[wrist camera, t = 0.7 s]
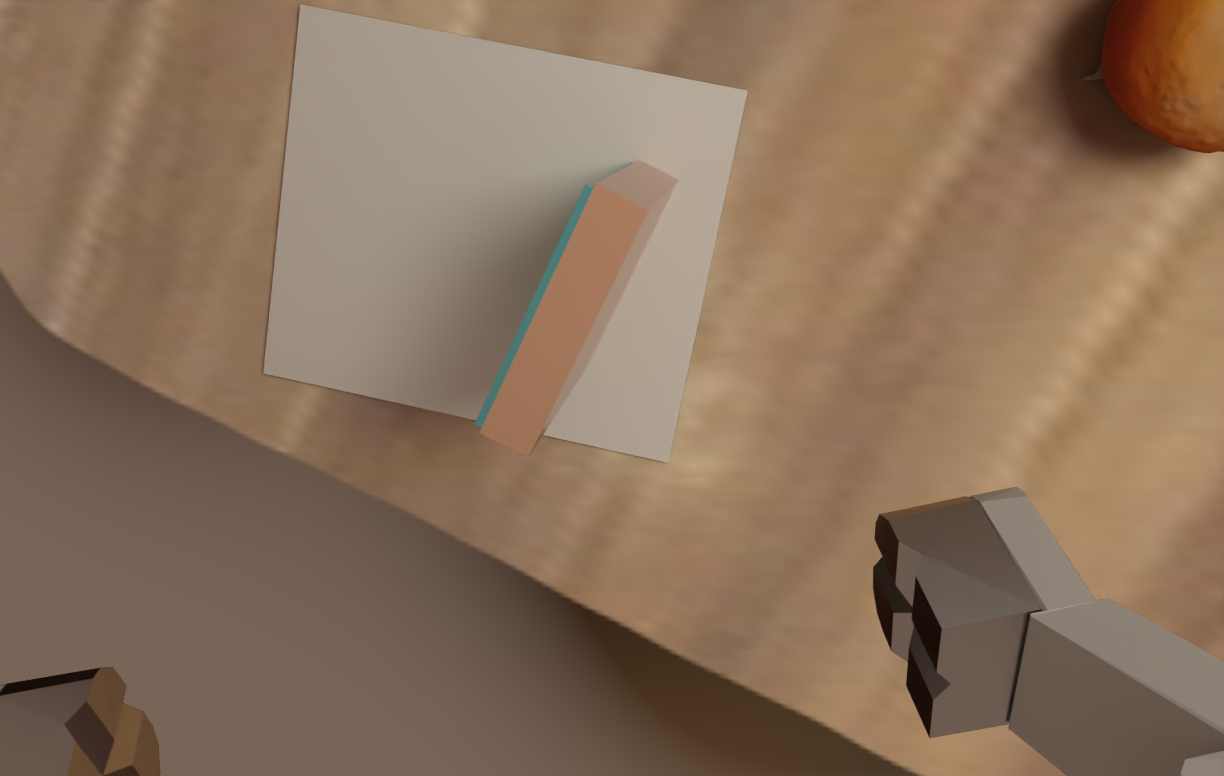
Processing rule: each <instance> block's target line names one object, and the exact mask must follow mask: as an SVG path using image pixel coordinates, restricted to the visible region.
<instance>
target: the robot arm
mask: <svg viewBox="0 0 1224 776" xmlns="http://www.w3.org/2000/svg"><path fill="white" fill-rule="evenodd" d="M875 541H876V543H877V545H878V548H879V550H880V552H881V554H882V556H883V557H882V558H881V559H880V560H879V561H878V562H877V564H876V565H875V566H874V567H873V591H874V597H875V603H876V609H877V614H878V617H879V620H880V624H881V627H882V630H883V633H884V635H885V637H886V640H887V642H888V645H889V647H890V649H891V651H892V652H893V653H895V654H896V655H898V656H899V657H901V658H902V659H904V660H906V661H907V662H908V667H907V680H906V686H907V689H908V691H909V693H910V695H911V698H912V700H913V702H914V704H915V707H916V709H917V711H918V713H919V716H920V718H921V720H922V722H923V725H924V727H925V729H926V731H927V734H928V736H929V738H933V737H939V736H945V735H950V734H956V733H961V732H967V731H973V730H978V729H984V728H990V727H995V726H1001V725H1007V724H1009V727H1008V728H1009V729H1010V730H1011V731H1012V732H1014V733H1015V734H1016V735H1017V736H1019V737H1020V738H1021V739H1022V740H1023V741H1025V742H1026V743H1027V744H1028V745H1030V746H1031V747H1032V748H1033V749H1035V750H1036V751H1037V752H1038V753H1040V754H1041V755H1042V756H1043V757H1045V758H1046V759H1047V760H1048V761H1050V762H1051V763H1052V764H1053V765H1054V766H1056V767H1057V768H1058V769H1059V770H1061V771H1062V772H1063V773H1064V774H1066V775H1067V776H1224V661H1222V660H1220V659H1218V658H1217V657H1215V656H1213V655H1211V654H1209V653H1208V652H1206V651H1204V650H1202V649H1200V648H1199V647H1197V646H1195V645H1193V644H1191V643H1190V642H1188V641H1186V640H1184V639H1182V638H1181V637H1179V636H1177V635H1175V634H1173V633H1172V632H1170V631H1168V630H1166V629H1164V628H1163V627H1161V626H1159V625H1157V624H1155V623H1154V622H1152V621H1150V620H1148V619H1146V618H1145V617H1143V616H1141V615H1139V614H1137V613H1136V612H1134V611H1132V610H1130V609H1128V608H1127V607H1125V606H1123V605H1121V604H1119V603H1118V602H1116V601H1114V600H1112V599H1110V598H1107V599H1101V600H1095V598H1094V597H1093V595H1092V594H1091V592H1090V591H1089V589H1088V588H1087V586H1086V585H1085V583H1084V582H1083V580H1082V578H1081V577H1080V575H1079V574H1078V572H1077V571H1076V569H1075V568H1074V566H1073V565H1072V563H1071V562H1070V560H1069V559H1068V557H1067V556H1066V554H1065V553H1064V551H1063V549H1062V548H1061V546H1060V545H1059V543H1058V542H1057V540H1056V539H1055V537H1054V536H1053V534H1052V533H1051V531H1050V530H1049V528H1048V527H1047V525H1046V523H1045V522H1044V520H1043V519H1042V517H1041V516H1040V514H1039V513H1038V511H1037V510H1036V508H1035V507H1034V505H1033V504H1032V502H1031V501H1030V499H1029V498H1028V496H1027V494H1026V493H1025V492H1024V491H1022V490H1021V489H1019V488H1018V487H1013V488H1008V489H1003V490H998V491H993V492H988V493H983V494H978V495H973V496H970V497H966V496H965V497H960V498H955V499H950V500H945V501H941V502H936V503H931V504H926V505H921V506H916V507H912V508H907V509H902V510H897V511H892V512H888V513H883V514H879V516H878V519H877V521H876V526H875ZM126 687H127V686H126V684H125V683H124V682H123V680H122V679H121V677H119V675H118V673H117V672H116V671H115V670H114V668H113V667H104V668H96V669H90V670H84V671H78V672H72V673H66V674H61V675H55V676H49V677H43V678H37V679H31V680H26V681H19V682H14V683H8V684H4V685H0V776H160V758H159V744H158V741H157V738H156V735H155V732H154V729H153V726H152V724H151V722H150V721H149V719H148V718H147V716H146V714H145V713H144V711H141V710H139V709H137V708H135V707H132V706H130V705H128V704H125V703H123V700H124V695H125V690H126Z"/></svg>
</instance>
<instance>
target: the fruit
mask: <svg viewBox="0 0 1224 776" xmlns="http://www.w3.org/2000/svg"><path fill="white" fill-rule="evenodd" d="M1102 78H1103V81H1104V83H1105V85H1106V87H1107V89H1108V91H1109V93H1110V95H1111V97H1112V98H1113V100H1114V101H1115V103H1116V104H1117V106H1118V107H1119V108H1120V110H1121V111H1123V112H1124V113H1125V114H1126V115H1127V116H1128V117H1130V118H1131V119H1132V120H1133V121H1134V122H1135V123H1136V124H1137V125H1139V126H1140V127H1142V128H1143V129H1145V130H1147V131H1148V132H1150V133H1152V134H1153V135H1155V136H1157V137H1158V138H1160V139H1162V140H1164V141H1166V142H1168V143H1170V144H1173V145H1175V146H1178V147H1182V148H1185V149H1188V150H1192V151H1197V152H1203V153H1213V152H1217V151H1223V152H1224V0H1117V1H1116V2H1115V4H1114V5H1113V7H1112V8H1111V10H1110V12H1109V14H1108V17H1107V22H1106V26H1105V31H1104V40H1103V50H1102V54H1101V58H1100V65H1099V68H1098V70H1097V72H1096V73H1095V74H1093V75H1090V76H1087V77H1083V78H1082V79H1084V80H1083V81H1089V80H1096V79H1102Z"/></svg>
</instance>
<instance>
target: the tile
mask: <svg viewBox="0 0 1224 776" xmlns="http://www.w3.org/2000/svg"><path fill="white" fill-rule="evenodd" d="M678 180H679V179H677V178H675V177H673V176H671V175H669V174H667V173H665V172H663V171H661V170H659V169H657V168H655V167H653V166H651V165H649V164H647V163H645V162H643V161H641V160H639V161H637V162H635V163H633V162H629V163H627V164H626V165H624V166H622V167H620V168H618V169H616V170H614V171H612V172H610V173H608V174H606V175H604V176H602V177H600V178H598V179H596V180H594V181H592V182H590V183H588V184H586V185H585V187H584V189H583V191H582V193H581V195H580V197H579V200H578V202H577V204H576V206H575V208H574V210H573V212H572V215H571V217H570V219H569V221H568V223H567V225H566V228H565V230H564V232H563V234H562V236H561V238H560V241H559V243H558V245H557V247H556V249H555V251H554V253H553V256H552V258H551V260H550V262H549V264H548V266H547V269H546V271H545V273H544V275H543V277H542V279H541V282H540V284H539V286H538V288H537V290H536V292H535V294H534V297H533V299H532V301H531V303H530V305H529V307H528V310H527V312H526V314H525V316H524V318H523V320H522V323H521V325H520V327H519V329H518V331H517V333H516V335H515V338H514V340H513V342H512V344H511V346H510V348H509V351H508V353H507V355H506V357H505V359H504V361H503V364H502V366H501V368H500V370H499V372H498V374H497V376H496V379H495V381H494V383H493V385H492V387H491V389H490V392H489V394H488V396H487V398H486V400H485V402H484V404H483V407H482V409H481V411H480V413H479V415H478V417H477V420H476V422H475V424H474V425H475V426H477V427H479V428H481V431H480V434H482V435H484V436H486V437H488V438H490V439H492V440H494V441H496V442H498V443H500V444H502V445H504V446H506V447H508V448H509V449H511V450H513V451H515V452H517V453H519V454H521V455H523V456H525V457H527V458H529V456H530V455H531V453H532V451H533V450H534V448H535V447H536V445H537V444H538V442H539V441H540V439H541V438H542V436H543V434H544V433H545V431H546V430H547V428H548V427H549V425H550V424H551V422H552V420H553V419H554V417H555V416H556V414H557V413H558V411H559V410H560V408H561V407H562V405H563V403H564V402H565V400H566V399H567V397H568V396H569V394H570V393H571V391H572V390H573V388H574V386H575V385H576V383H577V382H578V380H579V379H580V377H581V376H582V374H583V372H584V371H585V369H586V368H587V366H588V364H589V362H590V360H591V358H592V356H593V354H594V352H595V350H596V348H597V346H598V344H599V342H600V339H601V337H602V335H603V333H604V331H605V329H606V327H607V325H608V323H609V321H610V319H611V317H612V315H613V313H614V311H615V309H616V307H617V305H618V303H619V301H620V299H621V297H622V295H623V292H624V290H625V288H626V286H627V284H628V282H629V280H630V278H631V276H632V274H633V272H634V270H635V268H636V266H637V264H638V262H639V260H640V258H641V256H642V254H643V252H644V250H645V248H646V246H647V243H648V241H649V239H650V237H651V235H652V233H653V231H654V229H655V227H656V225H657V223H658V221H659V219H660V217H661V215H662V213H663V211H664V209H665V207H666V205H667V203H668V201H669V199H670V196H671V194H672V192H673V190H674V188H675V186H676V184H677V182H678Z"/></svg>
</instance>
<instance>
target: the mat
mask: <svg viewBox="0 0 1224 776" xmlns="http://www.w3.org/2000/svg"><path fill="white" fill-rule="evenodd" d="M747 92H748V91H746V90H741V89H736V88H731V87H726V86H720V85H715V84H710V83H705V82H700V81H695V80H689V79H684V78H679V77H674V76H669V75H664V74H658V73H653V72H648V71H643V70H638V69H633V68H627V67H622V66H617V65H612V64H607V63H602V62H596V61H591V60H586V59H581V58H576V57H571V56H565V55H560V54H555V53H550V52H545V51H539V50H534V49H529V48H524V47H519V46H514V45H508V44H503V43H498V42H493V41H488V40H483V39H477V38H472V37H467V36H462V35H457V34H452V33H446V32H441V31H436V30H431V29H426V28H421V27H415V26H410V25H405V24H400V23H395V22H390V21H384V20H379V19H374V18H369V17H364V16H359V15H353V14H348V13H343V12H338V11H333V10H327V9H322V8H317V7H312V6H307V5H302V4H300V13H299V23H298V33H297V43H296V53H295V63H294V73H293V83H292V93H291V103H290V113H289V122H288V132H287V142H286V152H285V162H284V172H283V182H282V192H281V202H280V212H279V222H278V232H277V242H276V252H275V262H274V272H273V282H272V292H271V302H270V312H269V322H268V332H267V342H266V352H265V362H264V372H263V373H264V374H269V375H273V376H278V377H282V378H287V379H291V380H296V381H300V382H305V383H309V384H314V385H318V386H323V387H327V388H332V389H336V390H341V391H346V392H350V393H355V394H359V395H364V396H368V397H373V398H377V399H382V400H386V401H391V402H395V403H400V404H404V405H409V406H413V407H418V408H422V409H427V410H431V411H436V412H440V413H445V414H450V415H454V416H459V417H463V418H468V419H472V420H477V417H478V415H479V413H480V411H481V409H482V407H483V404H484V402H485V400H486V398H487V396H488V394H489V392H490V389H491V387H492V385H493V383H494V381H495V379H496V376H497V374H498V372H499V370H500V368H501V366H502V364H503V361H504V359H505V357H506V355H507V353H508V351H509V348H510V346H511V344H512V342H513V340H514V338H515V335H516V333H517V331H518V329H519V327H520V325H521V323H522V320H523V318H524V316H525V314H526V312H527V310H528V307H529V305H530V303H531V301H532V299H533V297H534V294H535V292H536V290H537V288H538V286H539V284H540V282H541V279H542V277H543V275H544V273H545V271H546V269H547V266H548V264H549V262H550V260H551V258H552V256H553V253H554V251H555V249H556V247H557V245H558V243H559V241H560V238H561V236H562V234H563V232H564V230H565V228H566V225H567V223H568V221H569V219H570V217H571V215H572V212H573V210H574V208H575V206H576V204H577V202H578V200H579V197H580V195H581V193H582V191H583V189H584V187H585V185H586V184H588V183H590V182H592V181H594V180H596V179H598V178H600V177H602V176H604V175H606V174H608V173H610V172H612V171H614V170H616V169H618V168H620V167H622V166H624V165H626V164H627V163H629V162H633V163H635V162H637V161H639V160H641V161H643V162H645V163H647V164H649V165H651V166H653V167H655V168H657V169H659V170H661V171H663V172H665V173H667V174H669V175H671V176H673V177H675V178H677V179H679V180H678V182H677V184H676V186H675V188H674V190H673V192H672V194H671V196H670V199H669V201H668V203H667V205H666V207H665V209H664V211H663V213H662V215H661V217H660V219H659V221H658V223H657V225H656V227H655V229H654V231H653V233H652V235H651V237H650V239H649V241H648V243H647V246H646V248H645V250H644V252H643V254H642V256H641V258H640V260H639V262H638V264H637V266H636V268H635V270H634V272H633V274H632V276H631V278H630V280H629V282H628V284H627V286H626V288H625V290H624V292H623V295H622V297H621V299H620V301H619V303H618V305H617V307H616V309H615V311H614V313H613V315H612V317H611V319H610V321H609V323H608V325H607V327H606V329H605V331H604V333H603V335H602V337H601V339H600V342H599V344H598V346H597V348H596V350H595V352H594V354H593V356H592V358H591V360H590V362H589V364H588V366H587V368H586V369H585V371H584V372H583V374H582V376H581V377H580V379H579V380H578V382H577V383H576V385H575V386H574V388H573V390H572V391H571V393H570V394H569V396H568V397H567V399H566V400H565V402H564V403H563V405H562V407H561V408H560V410H559V411H558V413H557V414H556V416H555V417H554V419H553V420H552V422H551V424H550V425H549V427H548V428H547V430H546V431H545V433H544V434H543V435H544V436H549V437H554V438H558V439H563V440H567V441H572V442H576V443H581V444H585V445H590V446H594V447H599V448H603V449H608V450H612V451H617V452H621V453H626V454H630V455H635V456H639V457H644V458H649V459H653V460H658V461H662V462H667V463H668V462H669V458H670V453H671V449H672V444H673V439H674V435H675V430H676V425H677V421H678V416H679V411H680V406H681V402H682V397H683V392H684V388H685V383H686V378H687V374H688V369H689V364H690V359H691V355H692V350H693V345H694V341H695V336H696V331H697V327H698V322H699V317H700V312H701V308H702V303H703V298H704V294H705V289H706V284H707V280H708V275H709V270H710V265H711V261H712V256H713V251H714V247H715V242H716V237H717V233H718V228H719V223H720V218H721V214H722V209H723V204H724V200H725V195H726V190H727V186H728V181H729V176H730V172H731V167H732V162H733V157H734V153H735V148H736V143H737V139H738V134H739V129H740V125H741V120H742V115H743V110H744V106H745V101H746V96H747Z"/></svg>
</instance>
